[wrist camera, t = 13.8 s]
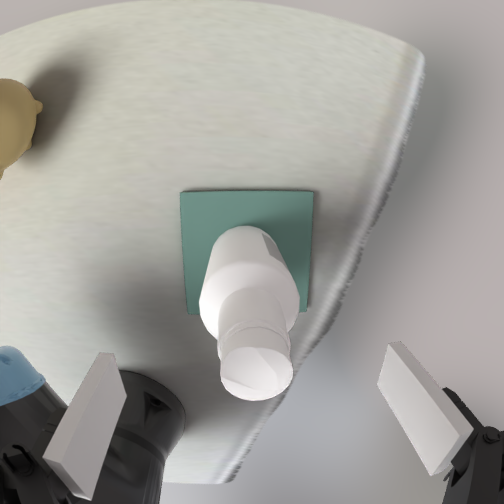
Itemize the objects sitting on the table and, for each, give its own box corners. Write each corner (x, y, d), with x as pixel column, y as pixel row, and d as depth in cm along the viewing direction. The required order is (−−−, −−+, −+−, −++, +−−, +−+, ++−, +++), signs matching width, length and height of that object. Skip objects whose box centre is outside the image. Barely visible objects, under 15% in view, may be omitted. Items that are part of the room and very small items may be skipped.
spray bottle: (246, 301, 32) (258, 437, 14) (196, 260, 30) (155, 377, 13) (292, 255, 30) (356, 365, 13) (242, 210, 29) (254, 280, 12)
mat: (304, 307, 33) (306, 311, 32) (189, 310, 33) (187, 314, 32) (310, 191, 30) (313, 192, 29) (181, 191, 29) (179, 192, 28)
